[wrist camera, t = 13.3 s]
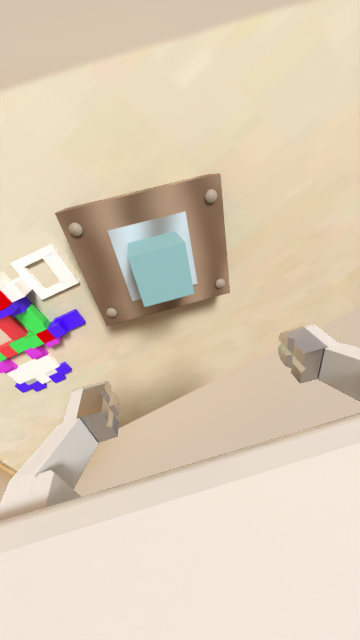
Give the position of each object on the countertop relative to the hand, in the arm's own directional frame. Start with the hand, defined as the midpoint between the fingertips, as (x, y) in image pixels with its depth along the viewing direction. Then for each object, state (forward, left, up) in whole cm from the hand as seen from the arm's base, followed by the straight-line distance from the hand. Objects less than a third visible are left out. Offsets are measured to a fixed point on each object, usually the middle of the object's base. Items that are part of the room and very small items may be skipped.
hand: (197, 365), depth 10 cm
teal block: (0, 0, -17) cm, 17 cm away
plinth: (0, 0, -21) cm, 21 cm away
